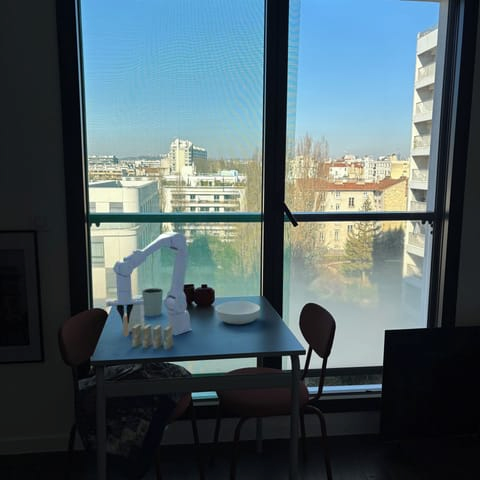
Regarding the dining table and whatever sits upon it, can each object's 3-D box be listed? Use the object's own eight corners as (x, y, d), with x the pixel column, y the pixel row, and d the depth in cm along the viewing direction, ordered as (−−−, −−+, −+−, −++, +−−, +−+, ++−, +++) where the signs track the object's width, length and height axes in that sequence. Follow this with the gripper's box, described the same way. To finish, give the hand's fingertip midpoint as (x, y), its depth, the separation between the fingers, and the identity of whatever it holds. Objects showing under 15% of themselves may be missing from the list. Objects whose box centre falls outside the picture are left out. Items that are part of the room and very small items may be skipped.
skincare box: (141, 331, 204) (140, 298, 202) (128, 332, 204) (126, 299, 202) (144, 325, 213) (143, 294, 211) (131, 326, 212) (130, 294, 210)
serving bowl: (219, 330, 204) (219, 315, 203) (212, 316, 224) (212, 303, 224) (265, 326, 208) (265, 311, 207) (254, 313, 229) (254, 300, 228)
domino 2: (151, 343, 189) (151, 324, 188) (146, 347, 185) (146, 328, 184) (148, 343, 190) (147, 324, 189) (143, 347, 185) (142, 328, 184)
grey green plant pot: (139, 314, 231) (138, 290, 229) (156, 309, 238) (155, 287, 236) (150, 318, 224) (149, 294, 222) (167, 313, 231) (166, 290, 229)
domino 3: (162, 344, 188) (161, 325, 187) (157, 348, 184) (156, 329, 183) (158, 343, 189) (157, 325, 188) (153, 348, 184) (152, 329, 183)
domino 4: (172, 344, 187) (172, 325, 186) (168, 349, 183) (167, 329, 182) (168, 344, 188) (168, 325, 187) (164, 349, 183) (163, 329, 182)
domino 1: (141, 342, 190) (140, 324, 189) (136, 347, 186) (135, 328, 185) (138, 342, 191) (137, 323, 190) (132, 346, 186) (131, 327, 185)
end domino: (129, 332, 191) (128, 313, 190) (127, 336, 186) (126, 316, 185) (125, 332, 191) (124, 313, 190) (123, 336, 186) (122, 317, 185)
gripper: (143, 286, 191) (144, 318, 193) (107, 288, 189) (108, 320, 191) (142, 291, 184) (143, 324, 186) (104, 292, 182) (106, 326, 184)
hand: (126, 322), depth 188 cm, fingers closed on end domino, 1 cm apart
